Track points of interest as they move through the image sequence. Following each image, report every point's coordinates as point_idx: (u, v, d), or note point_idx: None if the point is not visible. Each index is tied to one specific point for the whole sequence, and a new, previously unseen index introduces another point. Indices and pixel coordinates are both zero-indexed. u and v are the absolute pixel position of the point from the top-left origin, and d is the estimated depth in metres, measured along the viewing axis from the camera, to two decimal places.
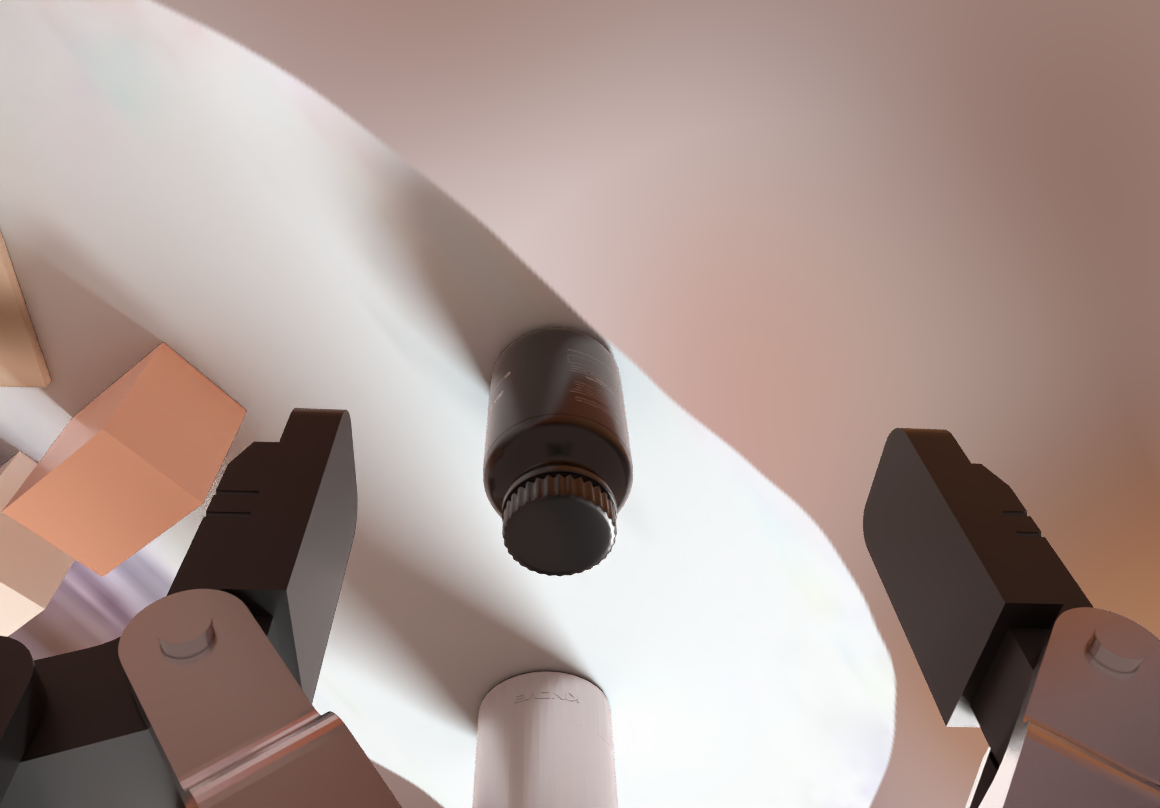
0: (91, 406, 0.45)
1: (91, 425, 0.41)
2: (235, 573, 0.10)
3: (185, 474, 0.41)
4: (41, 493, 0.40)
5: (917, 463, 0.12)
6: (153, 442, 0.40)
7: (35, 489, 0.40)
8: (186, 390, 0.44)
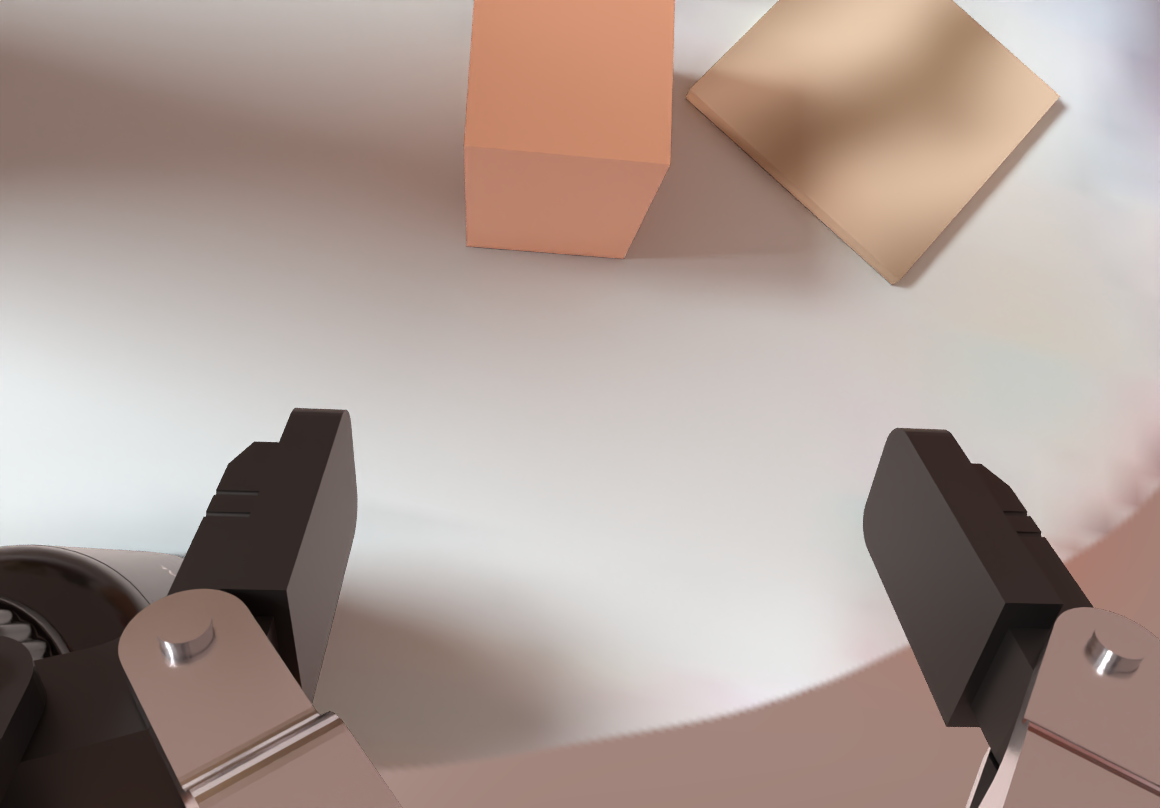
0: None
1: None
2: (234, 573, 0.10)
3: (514, 163, 0.24)
4: None
5: (917, 463, 0.12)
6: (584, 177, 0.24)
7: None
8: (566, 234, 0.29)
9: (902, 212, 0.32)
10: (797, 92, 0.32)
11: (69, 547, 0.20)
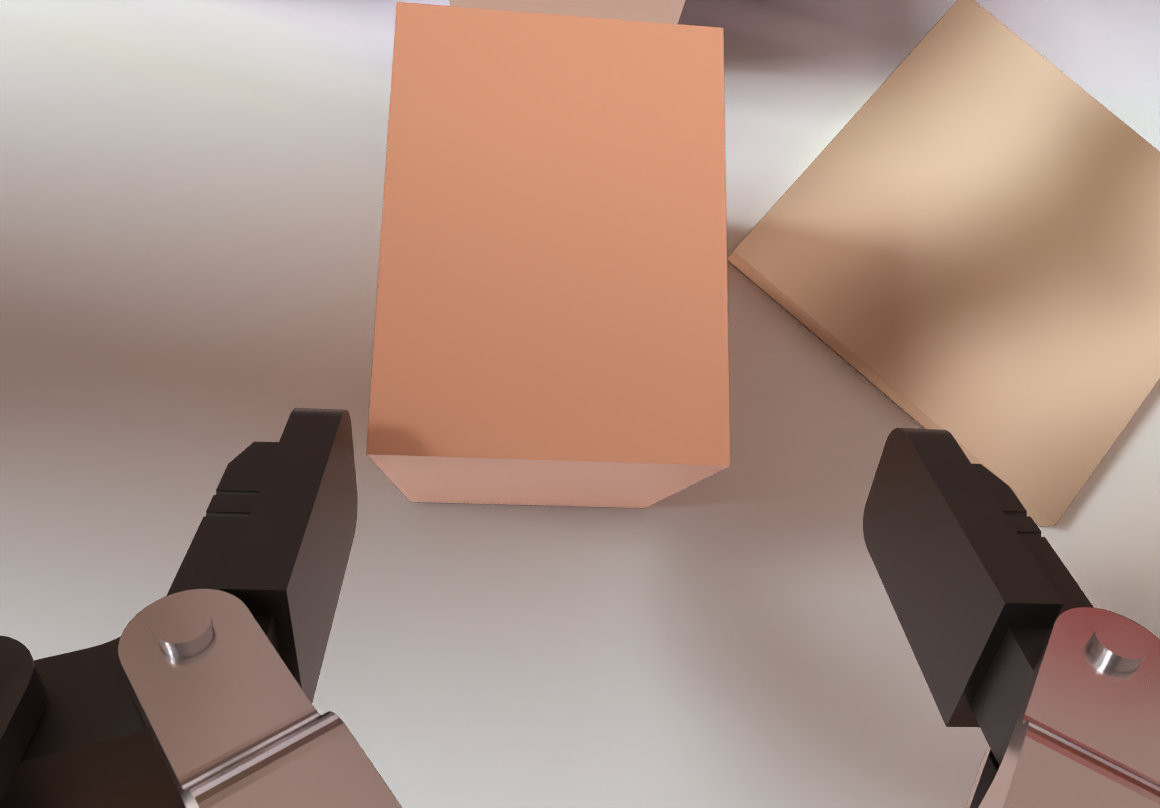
0: None
1: None
2: (234, 573, 0.10)
3: (460, 464, 0.14)
4: (695, 152, 0.14)
5: (917, 463, 0.12)
6: (581, 471, 0.14)
7: (713, 154, 0.14)
8: (557, 498, 0.19)
9: (1051, 420, 0.22)
10: (888, 247, 0.22)
11: None
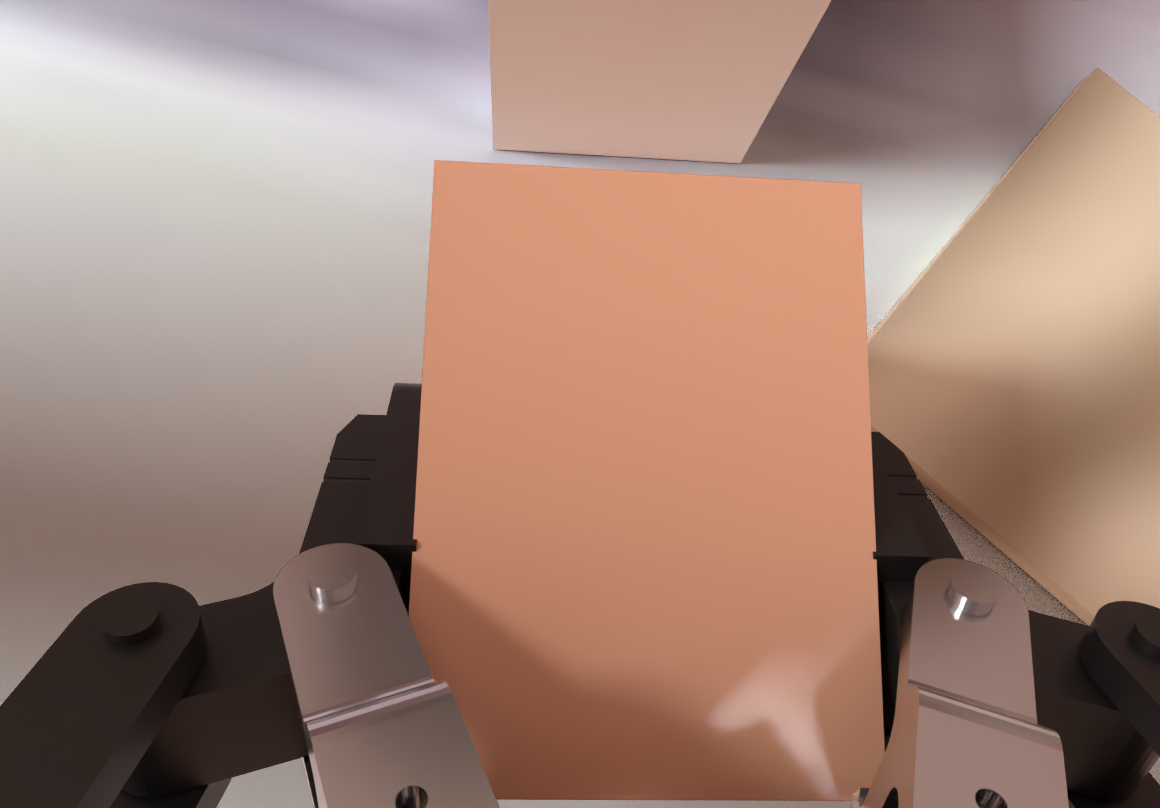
0: None
1: None
2: (366, 530, 0.10)
3: None
4: (829, 357, 0.11)
5: None
6: None
7: (852, 358, 0.11)
8: None
9: None
10: (1014, 382, 0.18)
11: None
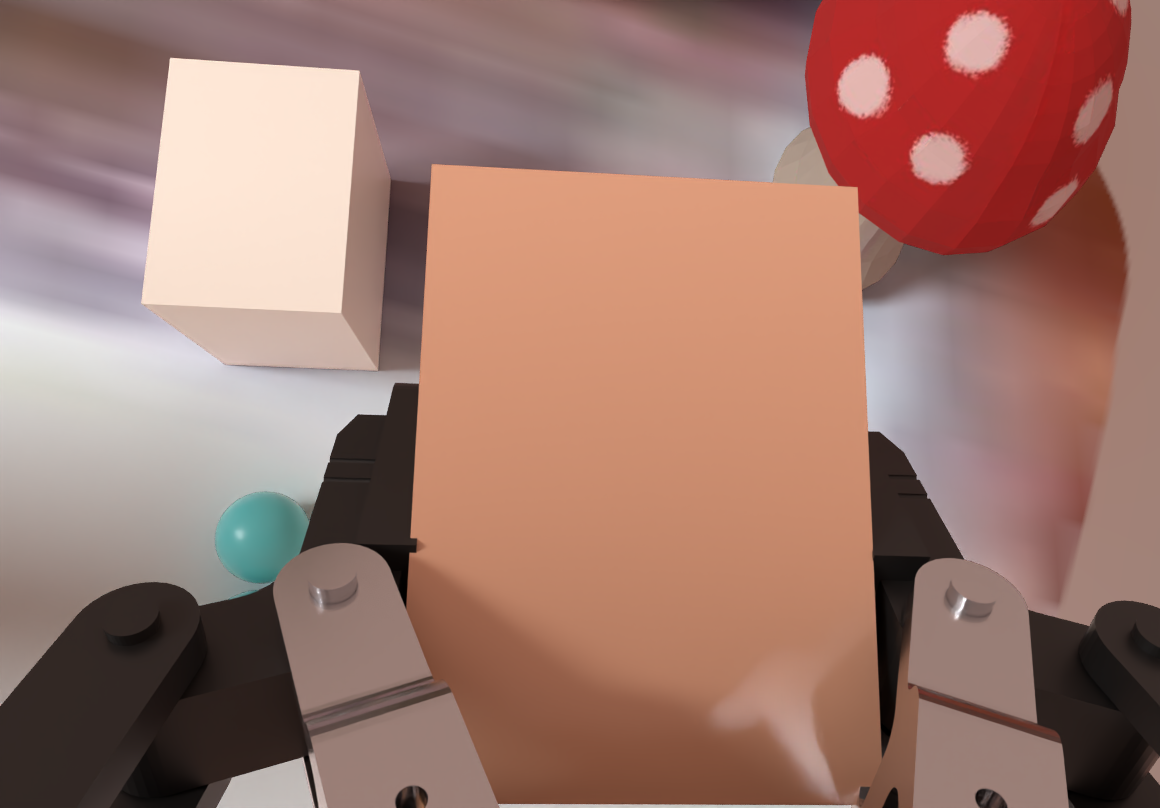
0: None
1: None
2: (366, 530, 0.10)
3: None
4: (826, 360, 0.11)
5: None
6: None
7: (848, 362, 0.11)
8: None
9: None
10: None
11: None
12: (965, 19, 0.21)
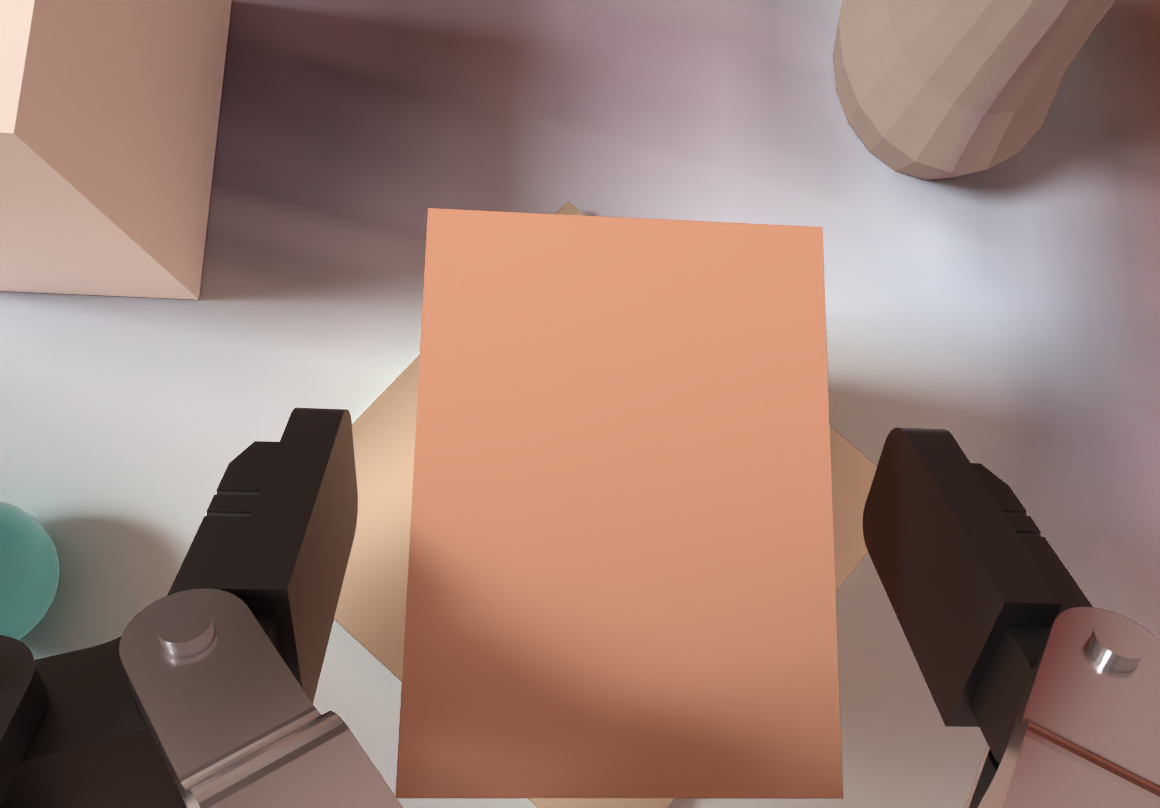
0: None
1: None
2: (236, 573, 0.10)
3: None
4: (792, 389, 0.12)
5: (916, 463, 0.12)
6: None
7: (813, 390, 0.12)
8: None
9: None
10: None
11: None
12: None
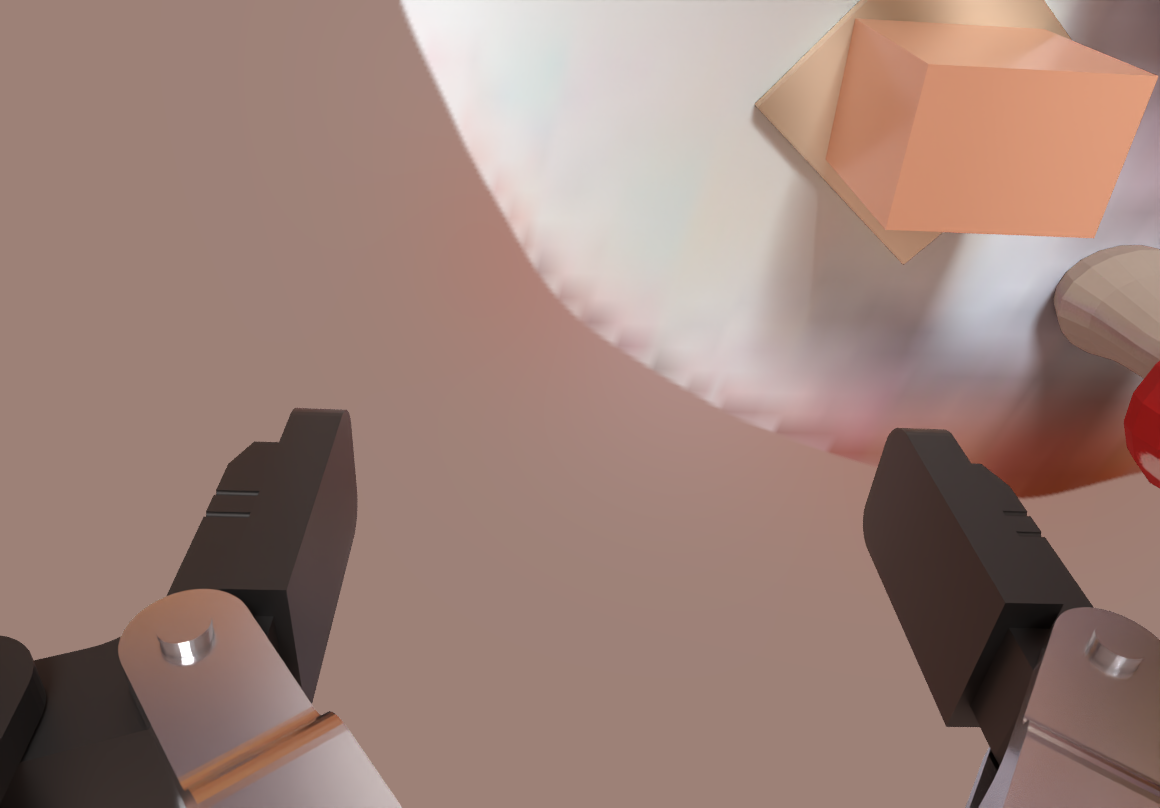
0: None
1: None
2: (235, 573, 0.10)
3: (908, 101, 0.29)
4: (1034, 222, 0.30)
5: (917, 463, 0.12)
6: (889, 156, 0.30)
7: (1031, 230, 0.30)
8: (850, 118, 0.34)
9: (818, 115, 0.36)
10: (949, 17, 0.34)
11: None
12: None
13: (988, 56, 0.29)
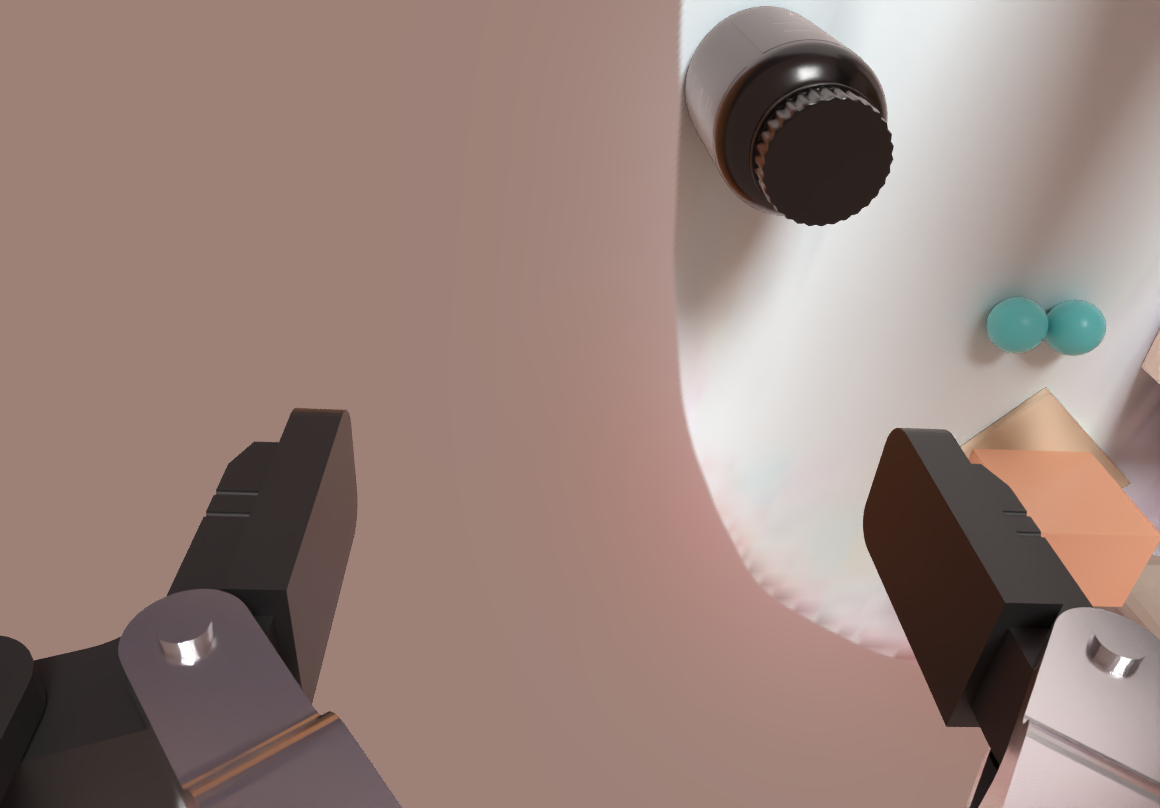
0: None
1: None
2: (235, 573, 0.10)
3: None
4: None
5: (917, 463, 0.12)
6: None
7: None
8: None
9: None
10: (1031, 447, 0.54)
11: None
12: None
13: (1062, 513, 0.49)
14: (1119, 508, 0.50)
